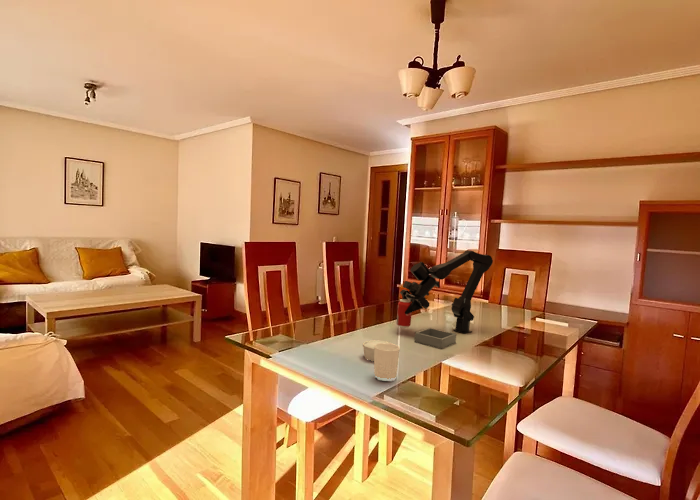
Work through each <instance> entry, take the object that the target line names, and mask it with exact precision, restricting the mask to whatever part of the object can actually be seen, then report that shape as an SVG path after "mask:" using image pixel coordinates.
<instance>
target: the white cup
mask: <svg viewBox="0 0 700 500" xmlns="http://www.w3.org/2000/svg"><path fill="white" fill-rule="evenodd" d="M390 343H391V342H390ZM390 343H378V344H376V345H375V346H374V362H373V363H374V364H373V366H374V367H373V369H374V372H373V373H374V374H375V376H377V377H380V378H387V379H389V378H390V379H391V378H395V377H396V378H397V372H398V365H399V358H400V350H401V348H400V346H399V345H397V344H394V343H392V344H390Z"/></svg>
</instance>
